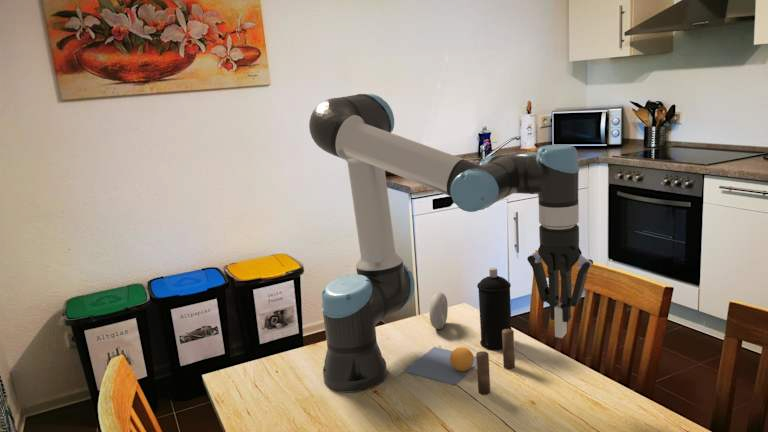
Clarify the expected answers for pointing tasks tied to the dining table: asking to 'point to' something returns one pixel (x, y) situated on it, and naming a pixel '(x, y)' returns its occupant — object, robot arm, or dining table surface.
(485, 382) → the post
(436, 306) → the donut
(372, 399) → the dining table surface
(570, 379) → the dining table surface
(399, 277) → the robot arm
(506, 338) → the post
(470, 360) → the ball
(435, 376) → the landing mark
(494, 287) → the aerosol can
